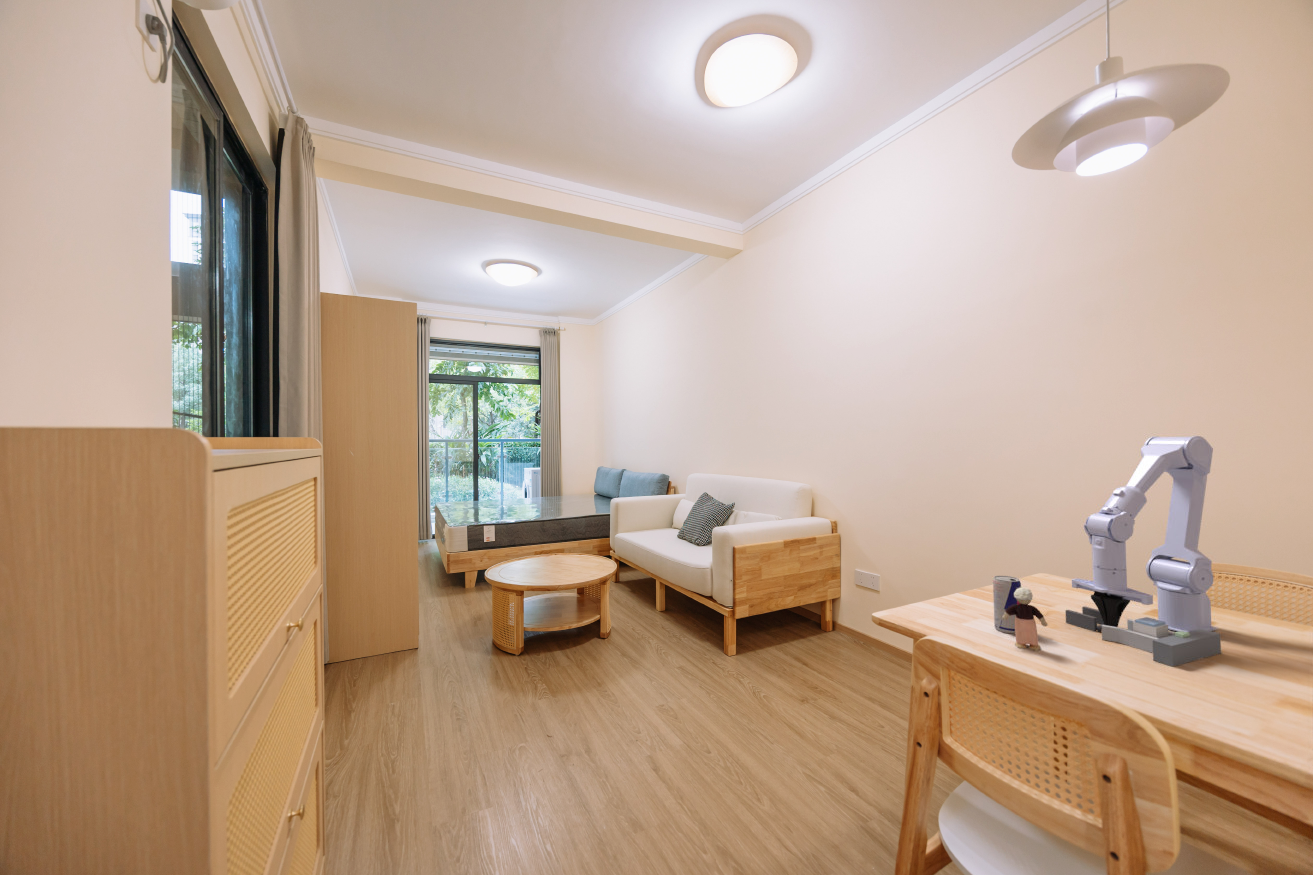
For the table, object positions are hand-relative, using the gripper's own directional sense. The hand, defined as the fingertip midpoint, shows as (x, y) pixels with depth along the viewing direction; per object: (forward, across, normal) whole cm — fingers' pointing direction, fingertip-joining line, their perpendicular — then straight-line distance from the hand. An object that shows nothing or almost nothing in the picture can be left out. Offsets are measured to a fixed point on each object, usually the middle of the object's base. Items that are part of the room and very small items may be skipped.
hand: (1111, 627), depth 114 cm
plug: (+2, +7, 0) cm, 7 cm away
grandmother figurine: (+2, -2, -24) cm, 24 cm away
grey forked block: (+1, +8, 0) cm, 8 cm away
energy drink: (+2, -10, -18) cm, 21 cm away
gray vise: (+1, -5, +5) cm, 8 cm away
